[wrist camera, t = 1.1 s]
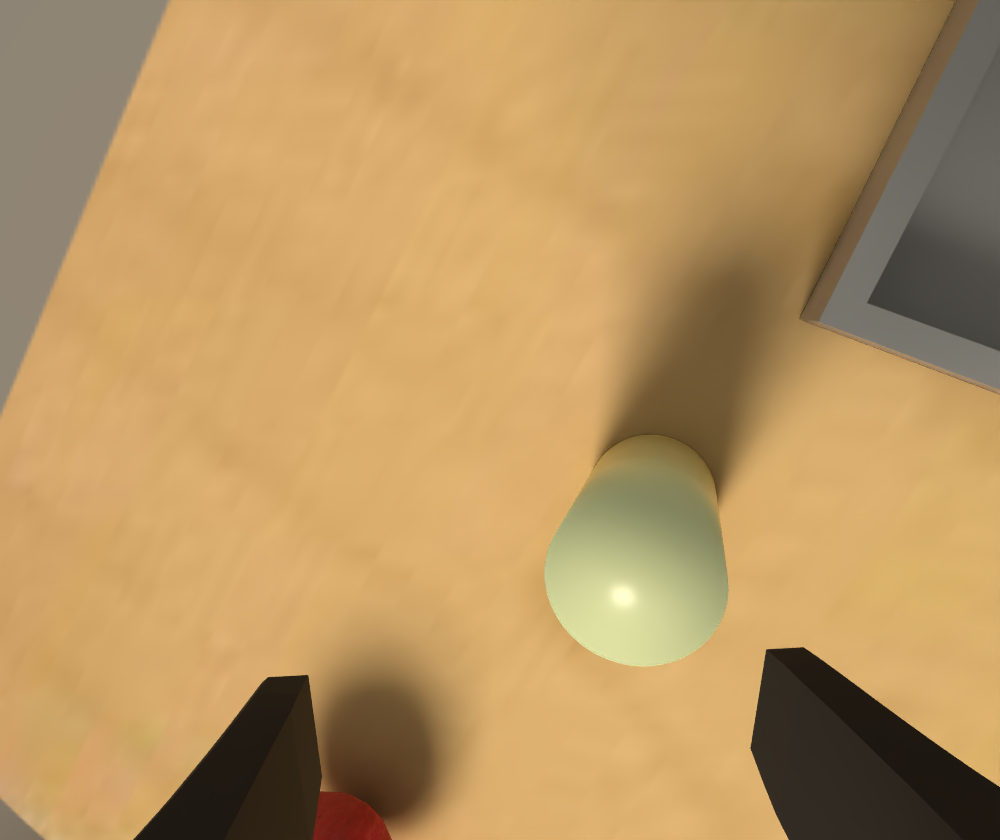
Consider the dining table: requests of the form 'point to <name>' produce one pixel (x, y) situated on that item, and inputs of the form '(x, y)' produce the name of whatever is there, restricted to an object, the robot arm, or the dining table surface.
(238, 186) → the dining table surface
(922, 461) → the dining table surface
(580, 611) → the pale green cylinder
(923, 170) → the tray
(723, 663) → the dining table surface
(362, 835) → the onion
